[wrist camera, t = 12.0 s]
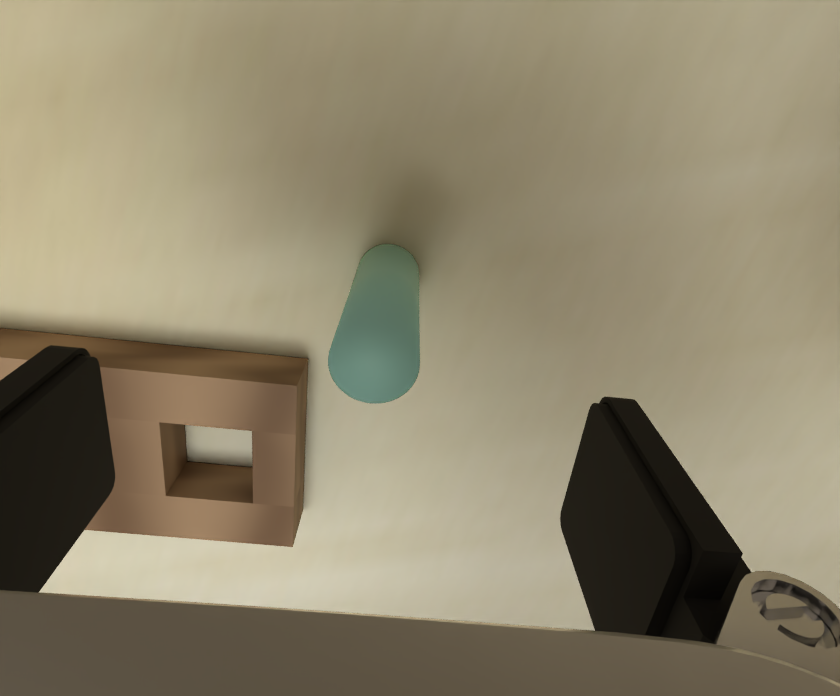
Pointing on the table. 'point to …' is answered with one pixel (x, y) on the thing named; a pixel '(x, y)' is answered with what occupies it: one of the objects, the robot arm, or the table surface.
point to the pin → (379, 328)
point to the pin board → (166, 444)
